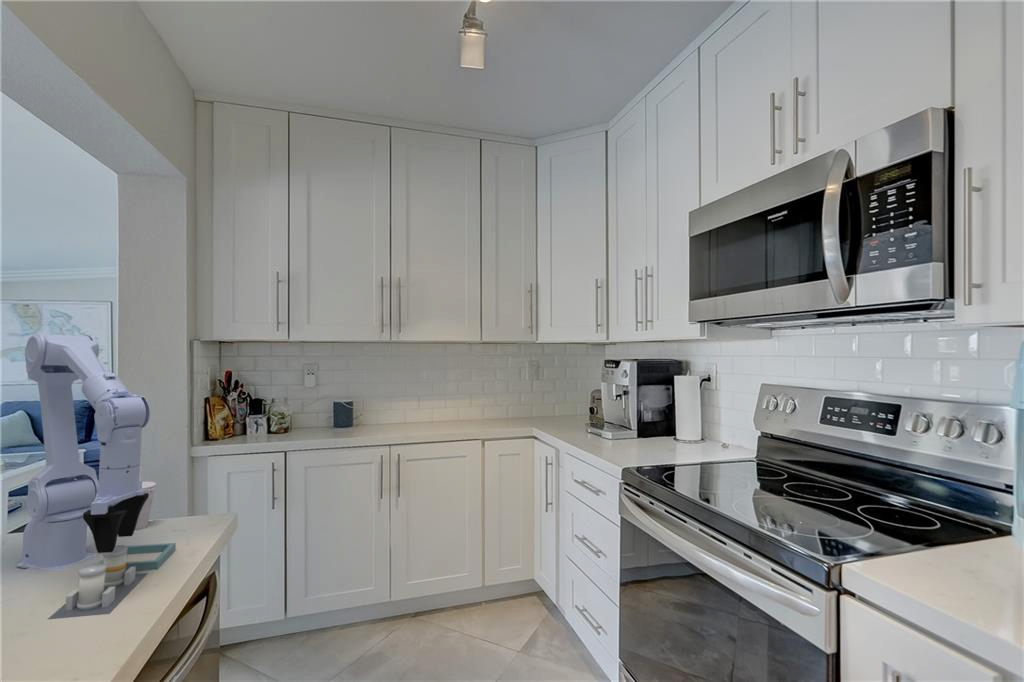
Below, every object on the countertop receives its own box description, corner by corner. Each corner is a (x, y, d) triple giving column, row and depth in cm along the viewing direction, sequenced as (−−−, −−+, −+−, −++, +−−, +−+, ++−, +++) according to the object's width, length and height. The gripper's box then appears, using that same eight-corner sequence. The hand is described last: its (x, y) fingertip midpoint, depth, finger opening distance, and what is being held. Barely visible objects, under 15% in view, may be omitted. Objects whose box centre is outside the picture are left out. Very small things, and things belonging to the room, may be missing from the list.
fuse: (70, 608, 81) (73, 570, 81) (92, 598, 85) (94, 562, 85) (88, 611, 81) (91, 573, 81) (109, 601, 84) (111, 564, 84)
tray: (157, 572, 96) (157, 561, 97) (94, 576, 94) (94, 565, 94) (175, 552, 106) (175, 542, 106) (118, 556, 103) (118, 546, 103)
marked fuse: (96, 586, 89) (98, 551, 89) (114, 577, 92) (116, 544, 92) (112, 588, 88) (114, 553, 88) (130, 580, 92) (132, 546, 92)
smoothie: (149, 520, 124) (152, 462, 124) (158, 526, 120) (161, 466, 120) (116, 526, 119) (119, 465, 119) (124, 533, 115) (128, 470, 115)
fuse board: (109, 617, 80) (110, 599, 80) (47, 623, 78) (48, 604, 78) (147, 576, 95) (148, 560, 95) (96, 580, 93) (97, 564, 93)
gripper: (128, 474, 85) (124, 557, 85) (161, 456, 99) (158, 528, 99) (77, 476, 83) (72, 561, 83) (118, 457, 97) (114, 530, 97)
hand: (116, 543), depth 90 cm, fingers open, 7 cm apart
